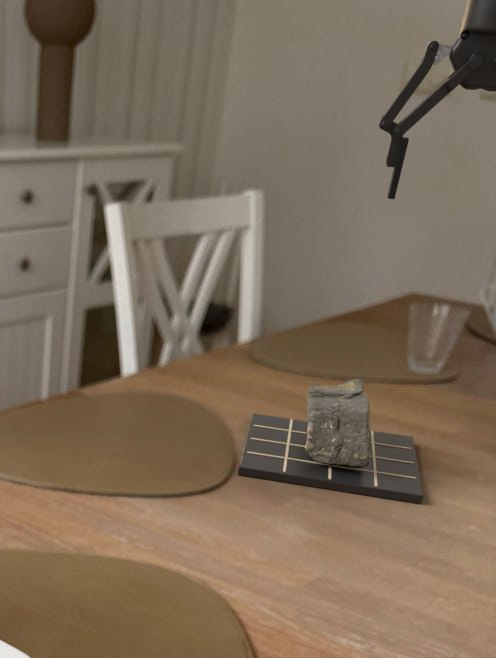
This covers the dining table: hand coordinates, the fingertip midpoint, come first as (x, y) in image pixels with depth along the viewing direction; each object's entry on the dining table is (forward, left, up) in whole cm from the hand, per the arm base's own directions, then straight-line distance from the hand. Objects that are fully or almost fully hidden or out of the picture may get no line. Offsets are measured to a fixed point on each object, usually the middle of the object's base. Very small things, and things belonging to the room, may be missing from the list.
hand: (449, 203), depth 118 cm
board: (+8, +20, -27) cm, 34 cm away
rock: (+8, +20, -26) cm, 34 cm away
